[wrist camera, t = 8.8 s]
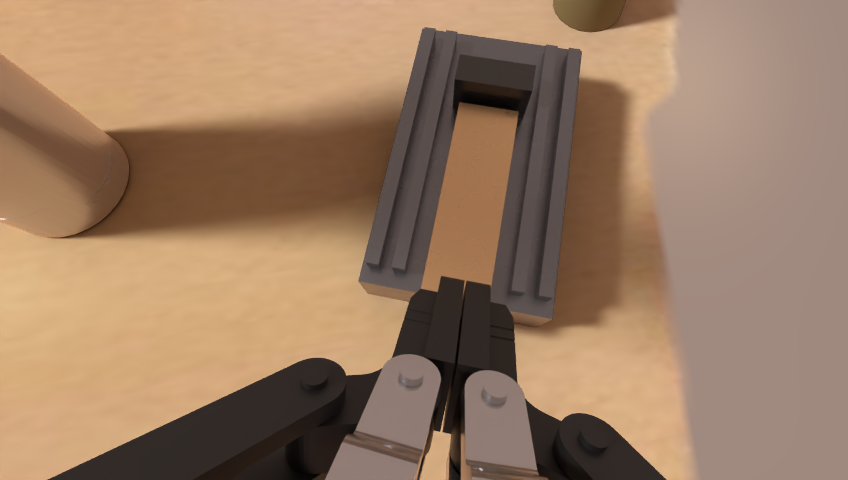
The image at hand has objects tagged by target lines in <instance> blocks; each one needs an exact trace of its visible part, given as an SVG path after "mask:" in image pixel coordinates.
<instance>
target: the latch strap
mask: <svg viewBox="0 0 848 480" xmlns="http://www.w3.org/2000/svg"><path fill="white" fill-rule="evenodd" d="M518 114H519V111H513V110H507V109H500V108H494V107H487V106H481V105H475V104H468V103H462V102H459V107H458V112H457V117H456V121H455V126H454V131H453V136H452V141H451V146H450V150H449V155H448V160H447V165H446V170H445V175H444V179H443V184H442V189H441V194H440V199H439V204H438V208H437V213H436V218H435V223H434V228H433V233H432V237H431V242H430V247H429V252H428V257H427V262H426V267H425V271H424V276H423V281H422V286H421V289H425V290H430V291H435V292H438V288H439V283H440V279H441V276H445V277H451V278H456V279H461V280H465V282H464V289H465V285H466V281H472V282H477V283H483V284H488V285H492V278H493V272H494V266H495V259H496V253H497V247H498V240H499V234H500V228H501V221H502V215H503V209H504V202H505V196H506V190H507V183H508V177H509V171H510V164H511V158H512V152H513V145H514V139H515V133H516V126H517V120H518ZM463 294H464V291H463Z"/></svg>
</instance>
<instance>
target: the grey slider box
mask: <svg viewBox="0 0 848 480" xmlns="http://www.w3.org/2000/svg"><path fill="white" fill-rule="evenodd" d="M557 47H558V46H552V45H546V46H541V45H534V44H527V43H520V42H513V41H506V40H499V39H492V38H485V37H478V36H471V35H464V34H457V32H455V31H448V30H446V32H443V31H436V29H434V28H427V27H425V29H422V33H421V37H420V41H419V45H418V49H417V53H416V57H415V61H414V64H413V68H412V72H411V76H410V80H409V84H408V88H407V92H406V96H405V100H404V104H403V108H402V112H401V116H400V120H399V123H398V127H397V131H396V135H395V139H394V143H393V147H392V151H391V155H390V159H389V163H388V167H387V171H386V175H385V179H384V182H383V186H382V190H381V194H380V198H379V202H378V206H377V210H376V214H375V218H374V222H373V226H372V230H371V234H370V238H369V241H368V245H367V249H366V253H365V257H364V261H363V265H362V269H361V273H360V277H359V283H360V284H361V285H362V286H363V288H364V289H365V290H366V292H367V293H368V294H373V295H378V296H383V297H388V298H393V299H398V300H403V301H408V302H410V298H411V297H412V296H413V295H414V294H415V293H416V292H418V291H419V290H420V289H421V286H422V281H423V276H424V271H425V267H426V262H427V257H428V252H429V247H430V242H431V237H432V233H433V228H434V223H435V218H436V213H437V208H438V204H439V199H440V194H441V189H442V184H443V179H444V175H445V170H446V165H447V160H448V155H449V150H450V146H451V141H452V136H453V131H454V126H455V121H456V117H457V112H458V107H459V102H462V103H468V104H475V105H481V106H487V107H494V108H500V109H507V110H513V111H519V114H518V120H517V126H516V133H515V139H514V145H513V152H512V158H511V164H510V171H509V177H508V183H507V190H506V196H505V202H504V209H503V215H502V221H501V228H500V234H499V240H498V247H497V253H496V259H495V266H494V272H493V278H492V285H491V301H490V302H493V303H498V304H503V305H506V306H507V308H508V310H509V311H510V313H511V314H512V316H513V320H514V323H519V324H524V325H529V326H534V327H538V326H540V325H542V324H544V323H546V322H548V321H550V320H552V318H553V309H554V300H555V291H556V282H557V273H558V264H559V255H560V246H561V237H562V228H563V218H564V209H565V200H566V191H567V182H568V173H569V164H570V155H571V146H572V137H573V128H574V118H575V109H576V100H577V91H578V82H579V73H580V64H581V55H582V51H580V49H573V48H569V49H562V48H557Z"/></svg>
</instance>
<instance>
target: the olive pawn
mask: <svg viewBox="0 0 848 480" xmlns="http://www.w3.org/2000/svg"><path fill="white" fill-rule="evenodd" d="M625 1H626V0H554V1H553V6H554V10H555V13H556V14H557V16H558V17H559V18H560V20H561V21H562V22H564V23H565V24H566V25H568V26H569V27H571V28H574V29H577V30H579V31H586V32H595V31H602V30H604V29H607V28H609V27H611V26H612V25H613V24H614V23H616V22H617V21H618V19H619V17H620V15H621V13H622V10H623V7H624V4H625Z"/></svg>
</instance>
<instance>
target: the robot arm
mask: <svg viewBox="0 0 848 480" xmlns="http://www.w3.org/2000/svg"><path fill="white" fill-rule="evenodd" d="M128 177H129V163H128V158H127V156H126V154H125V151H124V149H123V148H122V147H121V146H120V144H119V143H118V142H117V141H115V140H114V139H113V138H111V137H110V136H109V135H107V134H106V133H105V132H103V131H102V130H101V129H99V128H98V127H97V126H96V125H94V124H93V123H92V122H90V121H89V120H88V119H86V118H85V117H84V116H82V115H81V114H80V113H79V112H77V111H76V110H75V109H74V108H72V107H71V106H70V105H68V104H67V103H66V102H64V101H63V100H62V99H60V98H59V97H58V96H56V95H55V94H54V93H52V92H51V91H50V90H48V89H47V88H46V87H44V86H43V85H42V84H40V83H39V82H38V81H36V80H35V79H34V78H32V77H31V76H30V75H28V74H27V73H26V72H24V71H23V70H22V69H20V68H19V67H18V66H16V65H15V64H14V63H12V62H11V61H10V60H8V59H7V58H6V57H4V56H3V55H2V54H0V222H2V223H5V224H8V225H10V226H13V227H16V228H19V229H21V230H24V231H27V232H30V233H32V234H35V235H39V236H43V237H48V238H49V237H65V236H70V235H75V234H77V233H80V232H82V231H85V230H87V229H89V228H90V227H92V226H94V225H95V224H97V223H99V222H100V221H101V220H102V219H103V218H105V217H106V216H107V215H108V214H109V213H110V212H111V211H112V210H113V208H114V207H115V206H116V205H117V204H118V202H119V200H120V199H121V197H122V195H123V194H124V192H125V189H126V186H127V183H128ZM464 282H465V280H461V279H456V278H451V277H445V276H441V279H440V283H439V288H438V292H435V291H430V290H425V289H420V290H419V291H418V292H416V293H415V294H414V295H413V296H412V297H411V298H410V302H409V305H408V308H407V311H406V315H405V318H404V321H403V324H402V328H401V331H400V334H399V337H398V341H397V344H396V347H395V350H394V354H393V356H392V358H391V359H390V360H389V361H387V362H386V364H385V365H384V366H383V368H382V369H380V370H378V371H376V372H373V373H370V374H364V375H348V376H346V374H345V372H344V370H343V368H342V367H341V366H340V365H339V364H337V363H336V362H334V361H331V360H329V359H325V358H310V359H306V360H302V361H300V362H297V363H295V364H293V365H291V366H289V367H287V368H285V369H283V370H280V371H278V372H276V373H274V374H272V375H270V376H268V377H266V378H263V379H261V380H259V381H257V382H255V383H253V384H251V385H248V386H246V387H244V388H242V389H240V390H238V391H236V392H234V393H231V394H229V395H227V396H225V397H223V398H221V399H219V400H217V401H214V402H212V403H210V404H208V405H206V406H204V407H202V408H199V409H197V410H195V411H193V412H191V413H189V414H187V415H185V416H182V417H180V418H178V419H176V420H174V421H172V422H170V423H168V424H165V425H163V426H161V427H159V428H157V429H155V430H153V431H150V432H148V433H146V434H144V435H142V436H140V437H138V438H136V439H133V440H131V441H129V442H127V443H125V444H123V445H121V446H119V447H116V448H114V449H112V450H110V451H108V452H106V453H104V454H101V455H99V456H97V457H95V458H93V459H91V460H89V461H87V462H84V463H82V464H80V465H78V466H76V467H74V468H72V469H70V470H67V471H65V472H63V473H61V474H59V475H57V476H55V477H52V478H50V479H48V480H420V478H421V474H422V470H423V466H424V462H425V457H426V454H427V453H428V451H429V449H430V446H431V442H432V437H433V432H434V430H435V431H439V432H440V429H441V425H442V420H443V415H444V411H445V417H444V425H443V432H445V433H449V434H451V443H450V449H449V454H448V458H447V463H446V480H666V479H665V478H664V477H663V476H662V475H661V474H660V473H659V472H658V471H657V470H656V469H655V468H654V467H653V466H652V465H651V464H650V463H649V462H648V461H647V460H645V459H644V458H643V457H642V456H641V455H640V454H639V453H638V452H637V451H636V450H635V449H634V448H633V447H632V446H631V445H630V444H629V443H628V442H627V441H626V440H625V439H624V438H623V437H622V436H621V435H620V434H619V433H618V432H617V431H616V430H615V429H613V428H612V427H611V426H610V425H609V424H607V423H606V422H604V421H603V420H601V419H599V418H597V417H595V416H592V415H588V414H583V413H576V414H571V415H568V416H567V417H565V418H564V419H563V420H562V421H560V420H558V419H556V418H554V417H552V416H549V415H547V414H545V413H543V412H542V411H540V410H538V409H537V408H535V407H534V406H532V405H531V404H530V403H529V402H528V401H527V400H526V399H525V396H524V393H523V391H522V389H521V387H520V386H519V385H518V383H517V371H516V354H515V343H514V341H515V337H514V320H513V316H512V314H511V313H510V311H509V310H508V308H507V306H506V305H503V304H498V303H493V302H490V301H491V285H488V284H483V283H477V282H472V281H466V285H465V289H464ZM463 291H464V294H463ZM446 401H447V402H446ZM445 406H446V410H445Z"/></svg>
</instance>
